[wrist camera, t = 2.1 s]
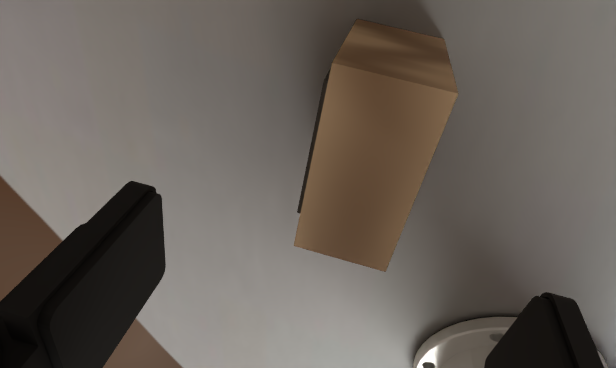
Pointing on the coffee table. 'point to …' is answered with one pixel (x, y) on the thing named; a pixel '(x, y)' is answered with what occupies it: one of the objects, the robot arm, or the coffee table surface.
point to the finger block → (373, 141)
